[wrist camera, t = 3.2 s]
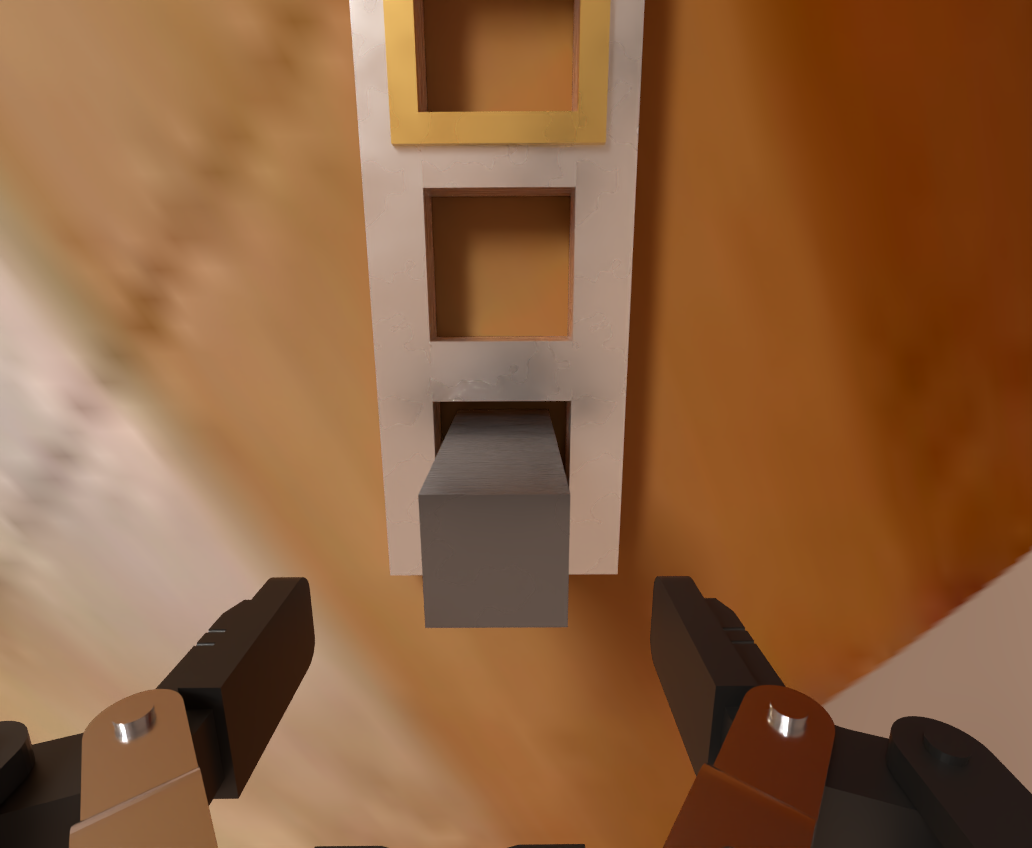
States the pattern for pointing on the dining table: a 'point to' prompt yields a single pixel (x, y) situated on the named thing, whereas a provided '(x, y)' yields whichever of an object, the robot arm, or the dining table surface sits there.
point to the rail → (500, 172)
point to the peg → (496, 524)
